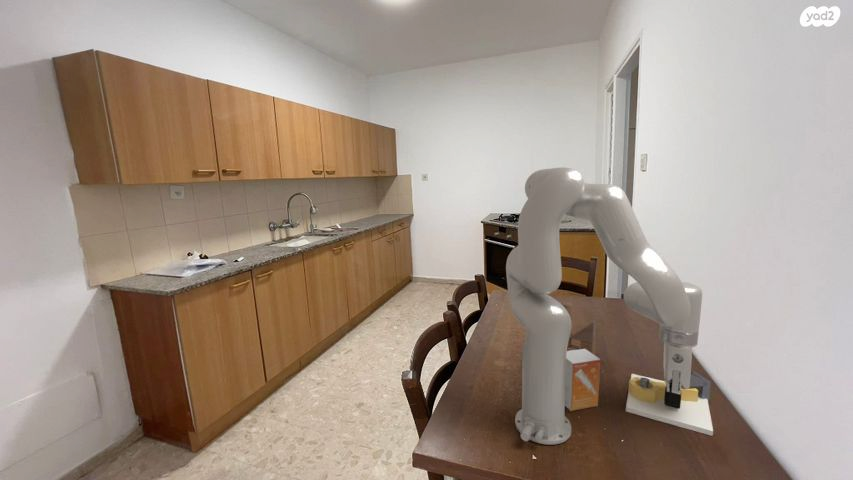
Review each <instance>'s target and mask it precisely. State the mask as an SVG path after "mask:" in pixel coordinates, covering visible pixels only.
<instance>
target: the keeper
mask: <svg viewBox="0 0 853 480" xmlns="http://www.w3.org/2000/svg"><path fill="white" fill-rule="evenodd" d="M711 385H712V382H711V381H710V380H709V379H707V378H706V377H704V376H703V375H701V373H698V372H697V371H691V376H690V387H695V388H696V389H697V390H698V397H700V398H701V399H707V400H708V404H709V403H710V395H711ZM682 386H683V385H682Z"/></svg>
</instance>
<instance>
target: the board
mask: <svg viewBox="0 0 853 480" xmlns="http://www.w3.org/2000/svg"><path fill="white" fill-rule="evenodd" d="M634 377H640V378H647V379H649V380H652V381H654V382H665V380H660V379H656V378H653V377H647V376H643V375H641V374H640V375H639V374H635V373H631V376H630V379H632V378H634ZM710 411H711V410H710V406H709V403H708V400H707V399H701V398H700V397H698V401H697V402H692V401H681V404H680V409H677V408H674V407H670V406H666V405H665V404H664V399H658V400H657V401H656V402H643V401H641V400H638V399H636V398H634V397H632V396H631V394H630V392H629V391H628V393H627V400H626V406H625V412H627V413H630V414H635V415H637V416H641V417H644V418H648V419H652V420H654V421H658V422H659V421H660V422H662V423H666V424H668V425H671V426H672V425H673V426H676V427H680V428H682V429H683V428H684V429H686V430H690V431H694V432H697V433H699V434H700V433H701V434H704V435H708V436H710V437H711V436H712V437H713V436H714V428H713V421H712V417H711V412H710Z"/></svg>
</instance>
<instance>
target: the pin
mask: <svg viewBox="0 0 853 480" xmlns="http://www.w3.org/2000/svg"><path fill="white" fill-rule="evenodd" d="M649 384H650V380H649V379H647V378H641V380H640V387H642V388H649Z"/></svg>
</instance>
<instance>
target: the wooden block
mask: <svg viewBox="0 0 853 480" xmlns="http://www.w3.org/2000/svg"><path fill="white" fill-rule="evenodd" d="M560 303H561V304H562V305H563V306H564V307H565V309H566V310H567V311H568V313H569V315H570V318H571V324H572V325H571V333H570V337H569V341H568V346H567V351H571V350H579V349H586V350H588V351H589V352H591V353H592V354H593V355H595V356H596V339H597V323H598V322H597V318H595V319H594V320H592V321H590V322H588V323H587V324H586V325H584V326H583V327H582V328H580V329H578V330H577V331H575V332H574V333H573V312H574V311H573V309H574V305H573V303H572V302H570V301H562V302H560ZM573 340H576V341H580V346H578V345H575V344H572V341H573Z"/></svg>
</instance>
